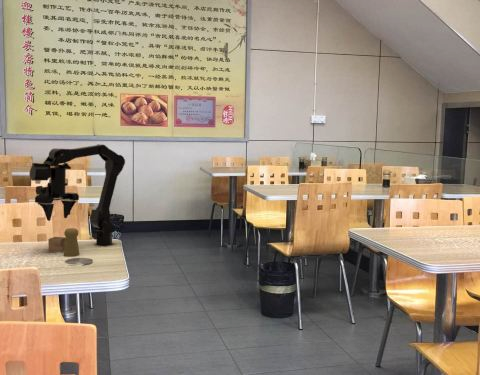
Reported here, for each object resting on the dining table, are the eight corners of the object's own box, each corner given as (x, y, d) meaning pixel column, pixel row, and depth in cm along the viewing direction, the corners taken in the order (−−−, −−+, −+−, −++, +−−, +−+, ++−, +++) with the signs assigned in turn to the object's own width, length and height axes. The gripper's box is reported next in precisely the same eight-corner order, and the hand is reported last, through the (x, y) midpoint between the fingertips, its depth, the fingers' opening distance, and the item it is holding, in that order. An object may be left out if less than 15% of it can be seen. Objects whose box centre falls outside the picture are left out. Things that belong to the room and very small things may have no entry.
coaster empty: (77, 258, 204) (77, 256, 204) (98, 261, 200) (98, 259, 200) (58, 263, 195) (58, 262, 195) (80, 267, 191) (80, 265, 191)
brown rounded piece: (74, 258, 203) (74, 230, 202) (60, 257, 204) (60, 229, 203) (82, 255, 209) (82, 227, 208) (68, 254, 210) (68, 226, 209)
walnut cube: (55, 248, 216) (54, 236, 216) (66, 249, 215) (66, 237, 215) (48, 251, 211) (48, 239, 211) (60, 252, 210) (60, 239, 210)
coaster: (57, 248, 220) (57, 246, 220) (76, 251, 216) (76, 249, 216) (38, 252, 211) (38, 251, 211) (58, 255, 207) (57, 254, 207)
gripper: (59, 178, 222) (58, 215, 224) (24, 179, 205) (23, 220, 207) (80, 179, 218) (79, 217, 219) (46, 182, 201) (45, 222, 202)
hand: (57, 219), depth 212 cm, fingers open, 9 cm apart
